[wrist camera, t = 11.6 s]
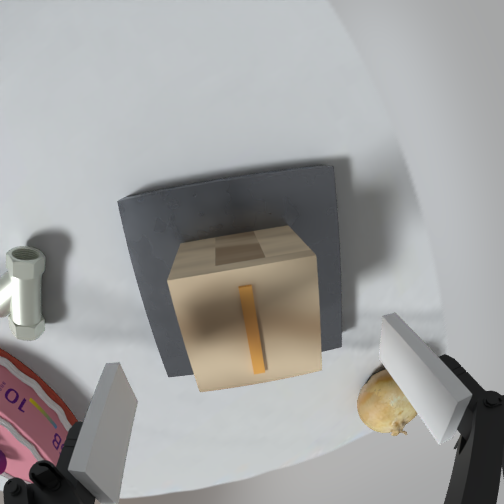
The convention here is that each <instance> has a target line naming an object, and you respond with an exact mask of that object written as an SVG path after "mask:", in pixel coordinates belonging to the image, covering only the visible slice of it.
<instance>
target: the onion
mask: <svg viewBox="0 0 504 504" xmlns="http://www.w3.org/2000/svg"><path fill="white" fill-rule="evenodd" d="M357 409H358V413H359V416H360V418H361V420H362V421H363V422H364V423H365V424H366V425H367V426H368V427H369V428H370V429H372V430H374V431H377V432H382V433H390V432H392V436H396V435H398V434H399V433H401V432H402V433H404V434H405V435H407V432H405V431H402V430H403V428H404V426H405V425H406V424H407V423H408V422H410V421H411V420H412V419H413V418H414V417H415V416H416V415H417V414H418V413H417V412H416V411H415V409H414V408H413V406H412V405H411V403H410V402H409V400H408V399H407V398H406V396H405V395H404V393H403V392H402V390H401V389H400V388H399V386H398V385H397V383H396V382H395V381H394V379H393V378H392V376H391V375H390V374H389V372H388V371H387V369H385V370H382V371H380V372H378V373H376V374H374V375H372V376H371V378H370V380H369V381H368V382H367V383H365V384H364V386H363V387H362V389H361V391H360V394H359V397H358V400H357Z"/></svg>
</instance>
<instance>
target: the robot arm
mask: <svg viewBox="0 0 504 504" xmlns="http://www.w3.org/2000/svg"><path fill="white" fill-rule="evenodd" d="M379 360H380V361H381V362H382V364H383V365H384V367H385V368H386V369H387V371H388V372H389V374H390V375H391V376H392V378H393V379H394V381H395V382H396V383H397V385H398V386H399V388H400V389H401V390H402V392H403V393H404V395H405V396H406V398H407V399H408V400H409V402H410V403H411V405H412V406H413V408H414V409H415V411H416V412H417V413H418V415H419V416H420V418H421V419H422V421H423V422H424V424H425V425H426V427H427V428H428V429H429V431H430V432H431V434H432V435H433V437H434V438H435V440H436V441H437V443H438V444H439V445H440V444H442V443H443V442H446V441H448V440H450V439H451V438H453V436H454V435H455V432H456V430H458V431H459V432H460V434H461V435H460V437H459V439H458V441H457V443H456V445H455V447H454V449H456V448H457V452H456V457H455V462H454V467H453V471H452V475H451V479H450V483H449V487H448V491H447V494H446V498H445V502H444V504H496V502H497V496H498V490H499V483H500V476H501V468H502V469H503V477H504V395H502V396H501V395H500V394H499V393H497V392H494V391H485V390H484V389H483V388H482V387H481V386H480V385H479V384H478V383H477V382H476V381H475V380H474V379H473V378H472V377H471V375H470V374H469V373H468V372H466V370H465V369H464V368H463V367H461V365H460V364H459V363H458V362H457V361H456V360H455V359H454V358H452V357H450V356H448V355H446V354H444V355H442V356H440V357H438V356H437V355H436V354H435V353H434V352H433V351H432V350H431V349H430V348H429V347H428V346H427V345H426V343H425V342H424V341H423V340H422V339H421V338H420V337H419V336H418V335H417V334H416V333H415V332H414V331H413V330H412V329H411V328H410V327H409V326H408V325H407V324H406V323H405V322H404V321H403V320H402V319H401V318H400V317H399V316H398V315H397V314H396V313H392V314H388V315H384V316H382V328H381V339H380V349H379ZM137 403H138V401H137V399H136V397H135V395H134V393H133V390H132V388H131V386H130V384H129V382H128V380H127V378H126V376H125V373H124V371H123V369H122V367H121V365H120V362H118V363H106V365H105V367H104V370H103V372H102V375H101V377H100V380H99V382H98V385H97V387H96V390H95V392H94V395H93V398H92V400H91V403H90V406H89V408H88V411H87V414H86V417H85V419H84V422H75V423H74V424H73V426H72V427H71V428H70V429H69V431H68V434H67V437H66V440H65V442H64V447H63V448H62V451H61V453H60V456H59V459H58V462H57V465H56V466H55V465H54V464H53V463H52V462H50V461H48V460H41V461H38V462H36V463H35V464H33V465H32V467H31V468H30V471H29V479H30V480H31V481H32V482H33V483H31V484H26V483H25V482H24V481H23V480H22V479H21V478H18V477H14V478H11V479H9V480H8V481H7V482H6V484H5V485H4V490H3V493H4V504H94V502H95V498H96V499H97V500H98V501H99V502H100V503H101V504H118V503H119V496H120V490H121V484H122V478H123V472H124V467H125V461H126V456H127V451H128V446H129V441H130V436H131V431H132V426H133V421H134V417H135V412H136V408H137ZM457 446H458V447H457Z"/></svg>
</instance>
